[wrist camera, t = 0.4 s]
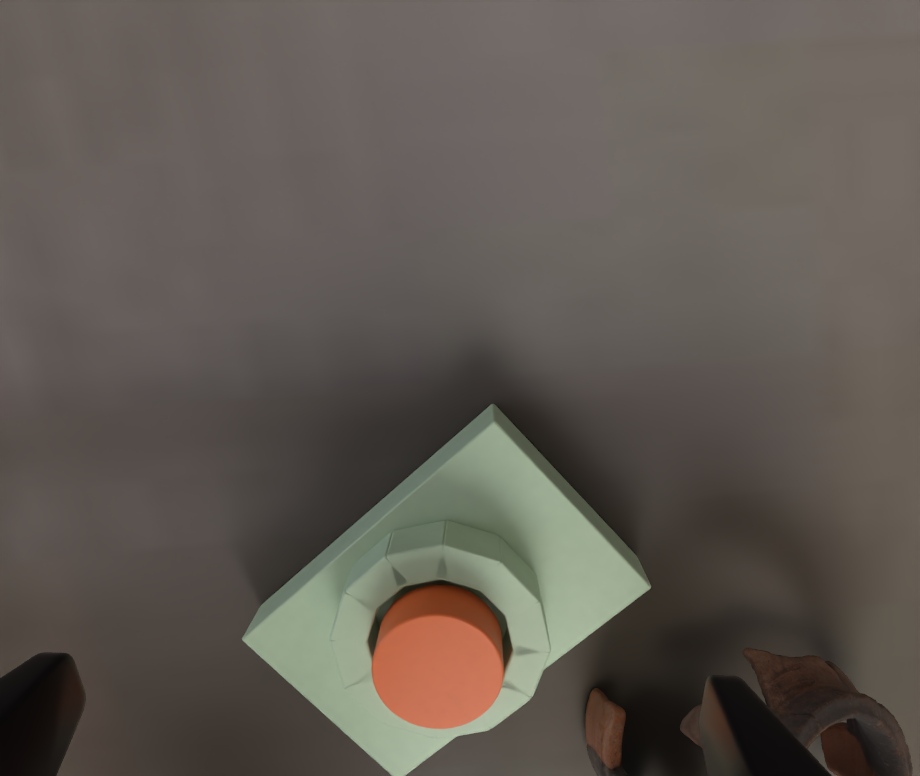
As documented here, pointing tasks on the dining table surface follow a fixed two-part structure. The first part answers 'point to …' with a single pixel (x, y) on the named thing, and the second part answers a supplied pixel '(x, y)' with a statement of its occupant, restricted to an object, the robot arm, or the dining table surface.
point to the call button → (438, 657)
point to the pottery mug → (785, 718)
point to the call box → (450, 583)
